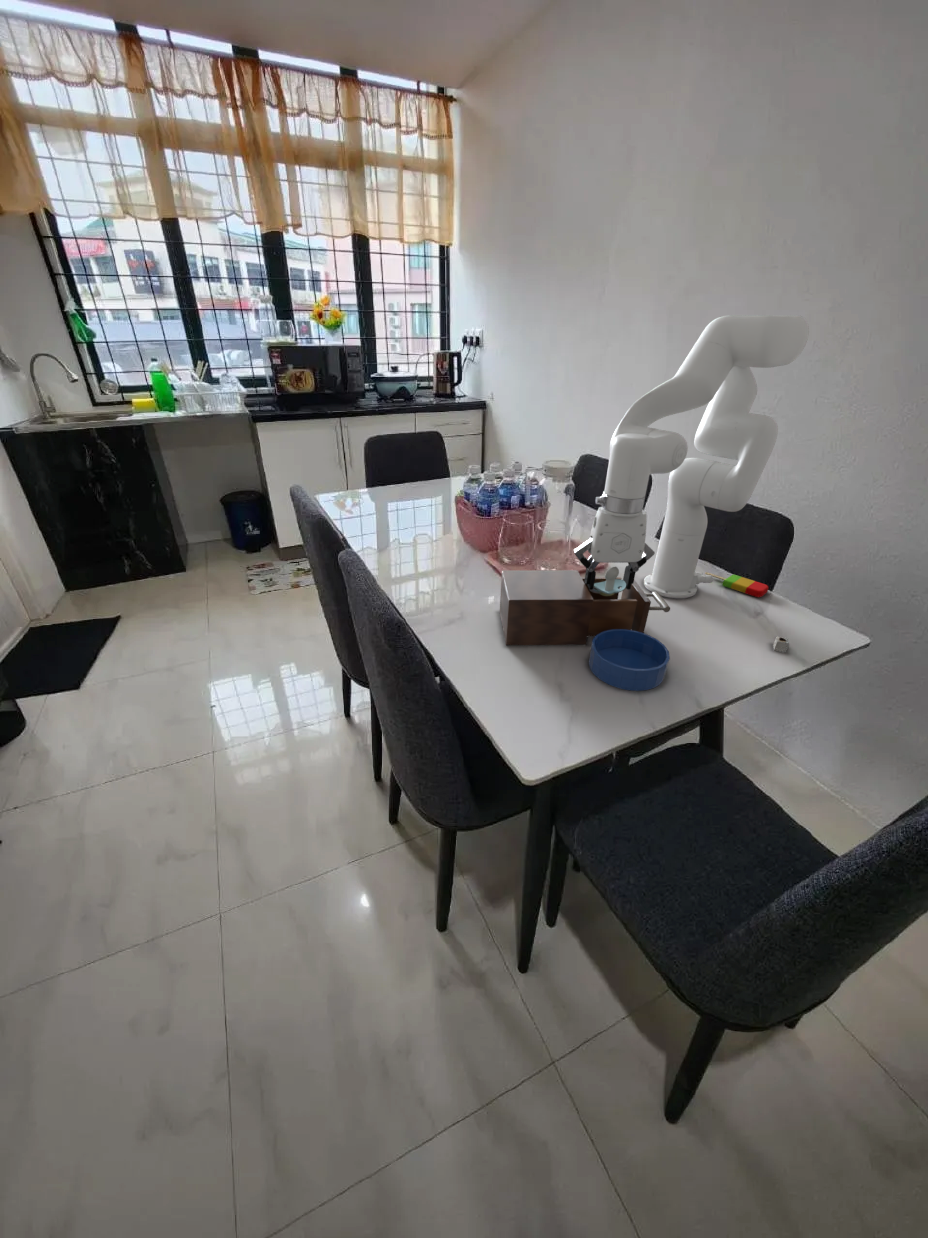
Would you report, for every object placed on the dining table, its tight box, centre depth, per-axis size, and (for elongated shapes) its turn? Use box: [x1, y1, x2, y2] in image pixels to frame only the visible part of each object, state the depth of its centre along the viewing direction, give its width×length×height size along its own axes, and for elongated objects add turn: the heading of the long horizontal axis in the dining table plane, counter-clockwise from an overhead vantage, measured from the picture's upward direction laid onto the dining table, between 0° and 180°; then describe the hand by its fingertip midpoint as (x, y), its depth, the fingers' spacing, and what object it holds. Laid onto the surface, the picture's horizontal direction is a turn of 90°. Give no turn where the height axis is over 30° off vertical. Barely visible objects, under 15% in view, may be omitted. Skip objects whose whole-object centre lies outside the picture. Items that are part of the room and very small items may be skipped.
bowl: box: [588, 629, 671, 692], centre depth 95 cm, size 14×14×4 cm
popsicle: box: [704, 571, 769, 598], centre depth 128 cm, size 6×15×2 cm, turn 43°
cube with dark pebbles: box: [772, 635, 790, 654], centre depth 102 cm, size 2×2×2 cm
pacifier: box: [589, 566, 626, 596], centre depth 103 cm, size 7×6×6 cm
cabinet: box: [499, 569, 593, 646], centre depth 106 cm, size 17×14×11 cm
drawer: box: [581, 576, 671, 637], centre depth 107 cm, size 21×12×9 cm, turn 92°
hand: (608, 586), depth 104 cm, fingers closed on pacifier, 7 cm apart
